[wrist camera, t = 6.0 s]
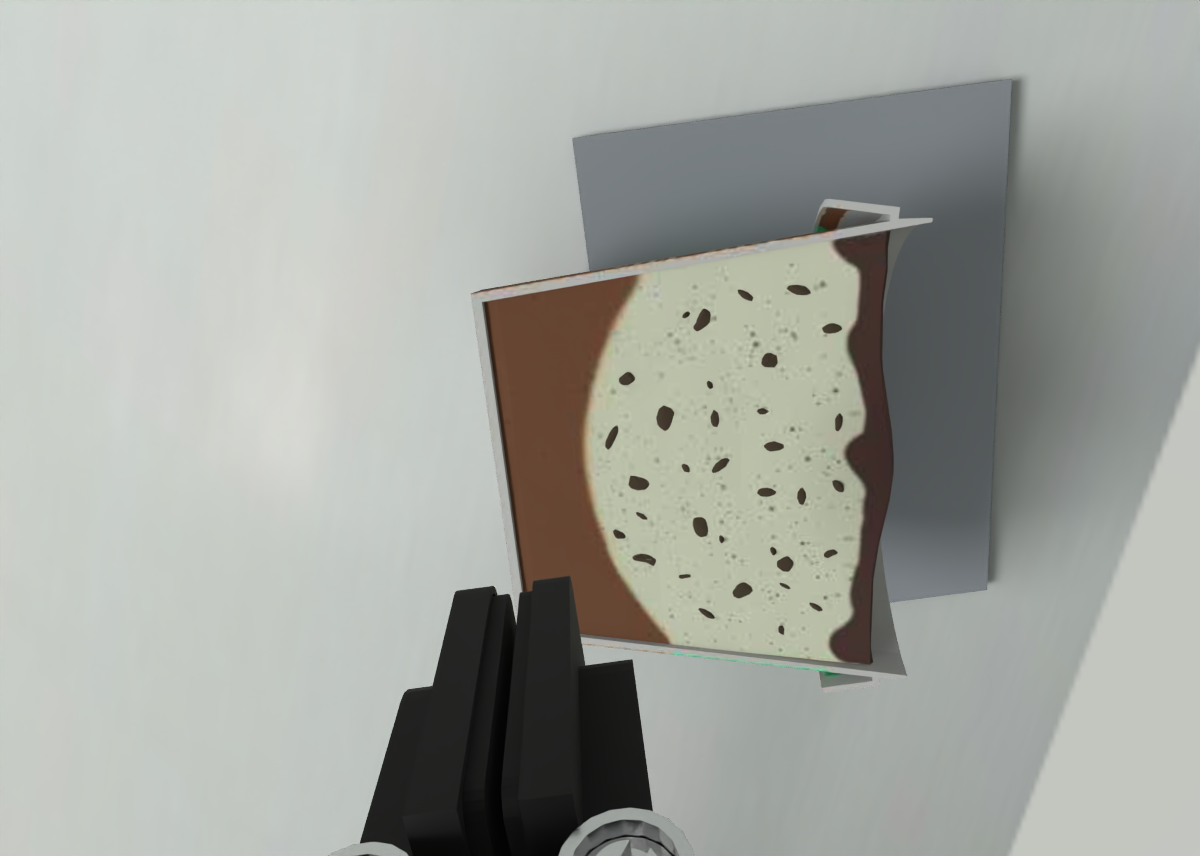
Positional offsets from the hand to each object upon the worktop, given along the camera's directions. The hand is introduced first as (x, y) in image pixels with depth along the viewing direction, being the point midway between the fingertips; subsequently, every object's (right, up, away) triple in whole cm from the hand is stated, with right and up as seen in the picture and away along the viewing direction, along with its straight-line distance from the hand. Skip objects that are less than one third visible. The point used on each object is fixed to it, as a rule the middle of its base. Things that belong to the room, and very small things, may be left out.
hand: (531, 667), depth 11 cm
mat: (+7, +5, +13) cm, 15 cm away
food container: (-1, +3, +11) cm, 11 cm away
